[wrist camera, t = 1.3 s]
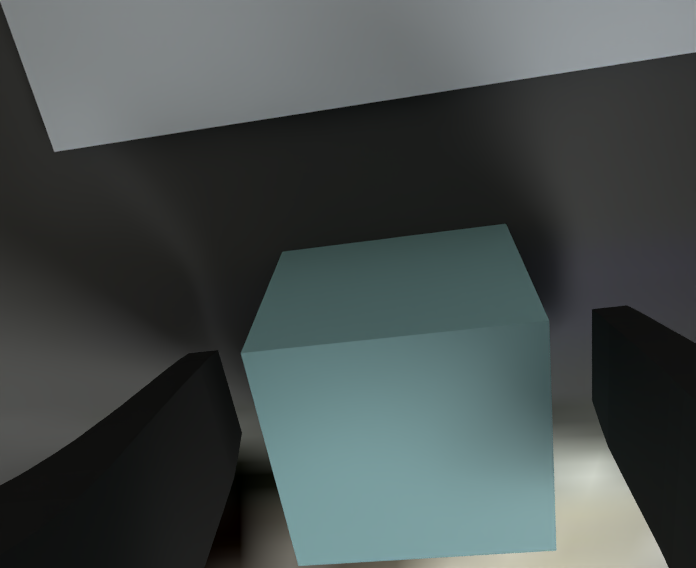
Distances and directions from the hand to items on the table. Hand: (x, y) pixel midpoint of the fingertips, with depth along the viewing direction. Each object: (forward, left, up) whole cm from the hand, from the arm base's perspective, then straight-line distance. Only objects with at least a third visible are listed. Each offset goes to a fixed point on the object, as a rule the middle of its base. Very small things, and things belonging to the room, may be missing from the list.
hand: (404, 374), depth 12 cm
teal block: (0, 0, -2) cm, 2 cm away
